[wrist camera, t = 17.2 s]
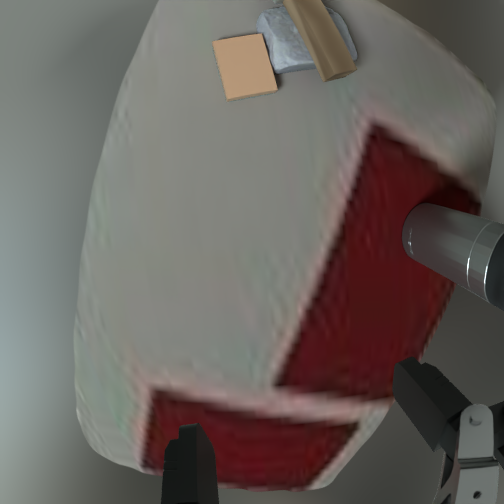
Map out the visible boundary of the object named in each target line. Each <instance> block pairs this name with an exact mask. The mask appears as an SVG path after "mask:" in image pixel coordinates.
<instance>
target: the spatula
mask: <svg viewBox="0 0 504 504" xmlns="http://www.w3.org/2000/svg"><path fill="white" fill-rule="evenodd" d="M273 2H274V3H275V4H280V3H283V5H284V6H285V8H286V10H287V12H288V13H289V15H290V17H291V19H292V21H293V22H294V24H295V26H296V28H297V30H298V32H299V33H300V35H301V37H302V39H303V41H304V43H305V45H306V47H307V49H308V51H309V53H310V55H311V57H312V59H313V61H314V63H315V65H316V68H317V70H318V72H319V74H320V76H321V78H322V81H323V82H327V81H331V80H335V79H339V78H343V77H346V76H347V75H349V74H351V73H352V72H354V71H355V70H357V68H356V65H355V63H354V61H353V59H352V57H351V55H350V53H349V51H348V49H347V47H346V45H345V43H344V41H343V39H342V37H341V35H340V33H339V31H338V29H337V28H336V26H335V24H334V22H333V20H332V18H331V17H330V15H329V13H328V11H327V10H326V8H325V6H324V5H323V3H322V1H321V0H273Z"/></svg>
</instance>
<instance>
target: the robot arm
mask: <svg viewBox="0 0 504 504" xmlns="http://www.w3.org/2000/svg"><path fill="white" fill-rule="evenodd" d="M402 241H403V246H404V249H405V251H406V253H407V255H408V256H410V257H411V258H412V259H414V260H416V261H418V262H420V263H421V264H423V265H425V266H427V267H428V268H430V269H432V270H434V271H436V272H437V273H439V274H441V275H443V276H445V277H446V278H448V279H450V280H452V281H453V282H455V283H457V284H459V285H460V286H462V287H464V288H466V289H467V290H469V291H471V292H472V293H474V294H476V295H478V296H479V297H481V298H483V299H484V300H486V301H488V302H489V303H491V304H493V305H494V306H496V307H498V308H499V309H501V310H503V311H504V224H502V223H498V222H495V221H492V220H488V219H485V218H481V217H478V216H475V215H471V214H468V213H464V212H461V211H457V210H453V209H450V208H446V207H442V206H439V205H435V204H431V203H422V204H419V205H418V206H416V207H415V208H414V209H413V210H412V211H411V212H410V213H409V215H408V216H407V218H406V220H405V223H404V226H403V232H402ZM393 394H394V397H395V399H396V401H397V402H398V404H399V405H400V406H401V408H402V409H403V411H404V412H405V413H406V415H407V416H408V417H409V418H410V420H411V421H412V423H413V424H414V426H415V427H416V428H417V430H418V431H419V432H420V434H421V435H422V437H423V438H424V439H425V441H426V442H427V444H428V445H429V446H430V447H431V449H432V451H433V452H435V451H436V450H438V449H440V448H441V447H442V448H443V449H444V451H445V453H444V456H443V463H442V469H441V476H440V480H439V486H438V490H437V494H436V496H435V499H434V501H433V504H496V499H497V489H498V476H499V463H500V465H501V466H502V468H503V469H504V401H503V402H501V403H498V404H496V405H493V406H490V407H486V406H485V405H482V404H472V403H471V402H470V401H469V400H468V399H467V398H466V397H465V396H464V395H463V394H462V393H461V392H460V391H459V390H458V389H457V388H456V387H455V386H454V385H453V384H452V383H451V382H449V380H448V379H447V378H446V377H445V376H443V374H442V373H441V372H440V371H439V370H438V369H437V368H436V367H434V366H432V365H430V364H428V363H424V364H422V365H421V364H420V363H419V362H418V361H417V360H416V359H415V358H414V357H409V358H407V359H405V360H403V361H400V362H398V363H396V364H395V367H394V378H393ZM493 455H494V456H495V458H496V459H497V460H494V458H493ZM498 462H499V463H498ZM163 470H164V472H163V482H162V498H161V504H219V498H218V486H217V473H216V460H215V452H214V448H213V446H212V443H211V442H210V440H209V438H208V437H207V435H206V433H205V432H204V430H203V428H202V427H201V425H200V424H199V423H196V424H190V425H183V426H180V427H179V438H178V439H174V440H170V442H169V444H168V446H167V447H166V449H165V455H164V467H163Z"/></svg>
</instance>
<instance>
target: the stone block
mask: <svg viewBox="0 0 504 504" xmlns="http://www.w3.org/2000/svg"><path fill="white" fill-rule="evenodd" d="M325 8H326V10H327V11H328V13H329V15H330V17H331V18H332V20H333V22H334V24H335V26H336V28H337V29H338V31H339V33H340V35H341V37H342V39H343V41H344V43H345V45H346V47H347V49H348V51H349V53H350V55H351V57H352V59H353V61H354V62H355V61H356V60H357V51H356V49H355V46H354V44H353V42H352V39H351V37H350V34H349V31H348V29H347V26H346V24H345V22H344V21H343V19H342V17H341V16H340V15H339V14H338V13H336V12H334V11H333V9H331V8H328V7H326V6H325ZM257 32H258V33H257V34H261V33H262V36H263V40H264V43H265V46H266V50H267V53H268V56H269V60H270V63H271V67H272V70H273V72H274V73H276V74H281V73H287V72H293V71H301V70H309V69H317V68H316V65H315V63H314V61H313V59H312V57H311V55H310V53H309V51H308V49H307V47H306V45H305V43H304V41H303V39H302V37H301V35H300V33H299V32H298V30H297V28H296V26H295V24H294V22H293V21H292V19H291V17H290V15H289V13H288V12H287V10H286V8H285V6H283V7H280V8H273V9H269V10H265V11H263V12H262V13H261V15H260V16H259V18H258V20H257Z"/></svg>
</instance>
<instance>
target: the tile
mask: <svg viewBox="0 0 504 504" xmlns="http://www.w3.org/2000/svg"><path fill="white" fill-rule="evenodd" d="M212 47H213V51H214V55H215V59H216V63H217V67H218V71H219V74H220V78H221V82H222V86H223V90H224V94H225V98H226V102H231V101H236V100H240V99H245V98H251V97H256V96H261V95H267V94H273V93H275V92H276V91H277V90H278V89H277V85H276V81H275V78H274V74H273V70H272V67H271V63H270V60H269V56H268V53H267V50H266V46H265V43H264V40H263V36H262V33H261V34H253V35H246V36H240V37H234V38H228V39H223V40H217V41H212Z"/></svg>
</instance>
